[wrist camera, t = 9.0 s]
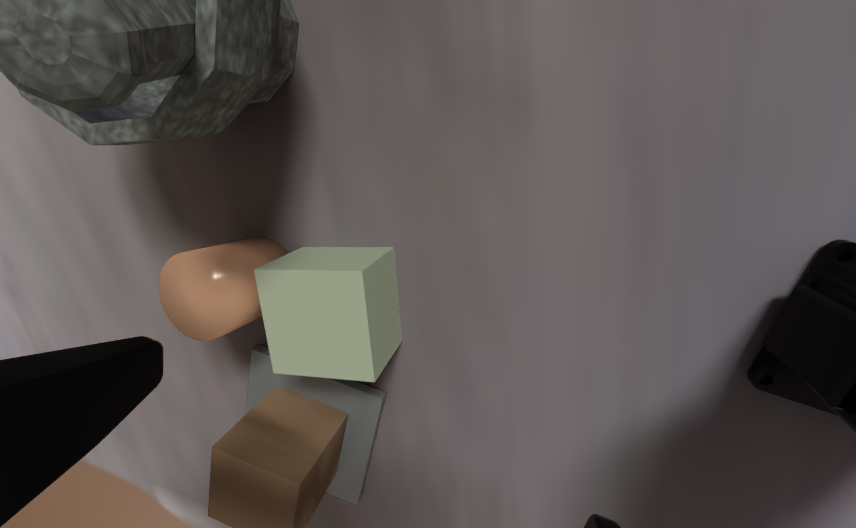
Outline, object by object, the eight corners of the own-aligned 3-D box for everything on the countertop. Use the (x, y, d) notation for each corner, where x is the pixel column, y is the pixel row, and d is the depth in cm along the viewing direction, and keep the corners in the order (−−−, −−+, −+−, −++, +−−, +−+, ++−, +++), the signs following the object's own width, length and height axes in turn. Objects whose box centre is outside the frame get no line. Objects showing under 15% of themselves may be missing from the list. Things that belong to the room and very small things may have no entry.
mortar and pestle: (128, 72, 21) (-352, -6, 9) (181, -141, 17) (-485, -664, 6) (309, 197, 20) (24, 269, 9) (402, 3, 17) (124, -273, 5)
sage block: (394, 246, 20) (361, 271, 16) (402, 339, 21) (374, 382, 18) (303, 246, 21) (253, 269, 17) (316, 334, 22) (273, 373, 19)
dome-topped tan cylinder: (275, 225, 21) (206, 236, 17) (308, 295, 21) (249, 324, 17) (221, 254, 22) (144, 271, 18) (253, 319, 23) (185, 352, 18)
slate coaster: (386, 392, 22) (382, 399, 22) (361, 497, 25) (357, 505, 24) (258, 344, 24) (251, 349, 23) (247, 449, 26) (241, 455, 26)
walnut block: (336, 473, 24) (288, 553, 19) (269, 445, 25) (207, 516, 20) (348, 413, 23) (299, 484, 18) (276, 385, 23) (212, 446, 19)
